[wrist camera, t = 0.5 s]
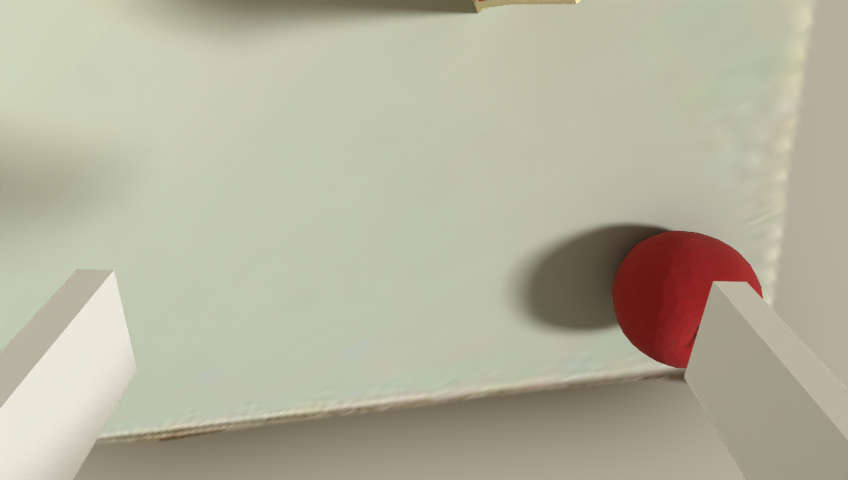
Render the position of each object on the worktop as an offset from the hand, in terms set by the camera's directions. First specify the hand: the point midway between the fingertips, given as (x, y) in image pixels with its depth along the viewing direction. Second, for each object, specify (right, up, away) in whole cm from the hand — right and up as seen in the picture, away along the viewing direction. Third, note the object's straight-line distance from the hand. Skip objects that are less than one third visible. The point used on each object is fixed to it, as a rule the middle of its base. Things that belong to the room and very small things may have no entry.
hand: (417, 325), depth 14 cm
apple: (+18, 0, +32) cm, 36 cm away
